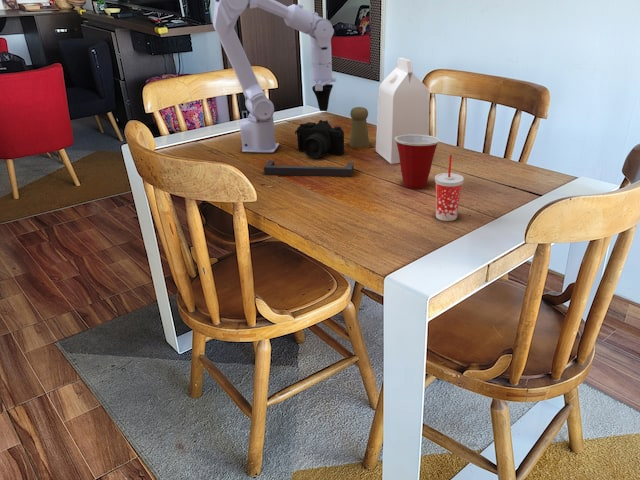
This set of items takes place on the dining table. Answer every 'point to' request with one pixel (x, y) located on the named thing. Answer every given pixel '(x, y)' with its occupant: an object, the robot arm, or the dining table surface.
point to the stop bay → (308, 170)
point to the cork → (359, 128)
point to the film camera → (320, 139)
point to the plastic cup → (416, 158)
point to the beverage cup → (448, 194)
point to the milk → (400, 109)
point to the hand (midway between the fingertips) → (323, 110)
